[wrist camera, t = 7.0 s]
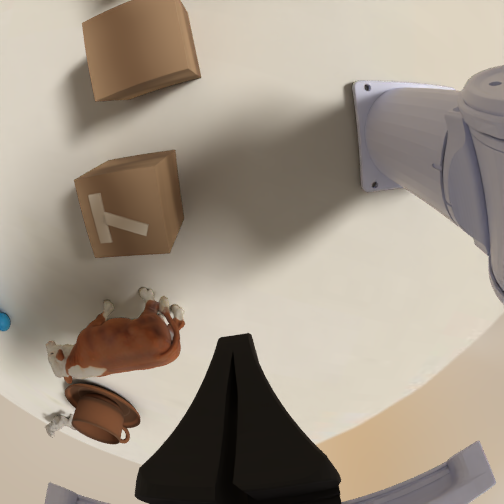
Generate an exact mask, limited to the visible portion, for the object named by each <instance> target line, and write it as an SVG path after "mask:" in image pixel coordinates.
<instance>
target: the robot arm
mask: <svg viewBox="0 0 504 504" xmlns="http://www.w3.org/2000/svg"><path fill="white" fill-rule="evenodd" d="M365 84H366V85H368V87H369V90H368V91H366V90H365V89H364V86H365ZM352 90H353V97H354V105H355V113H356V122H357V132H358V143H359V157H360V174H361V187H362V189H363V190H364V191H366V192H374V191H382V190H389V189H397V188H405V189H407V190H408V191H410V192H411V193H413V194H414V195H416V196H417V197H419V198H420V199H422V200H423V201H424V202H426V203H427V204H429V205H430V206H432V207H433V208H434V209H436V210H437V211H439V212H440V213H441V214H443V215H444V216H445V217H447V218H448V219H449V220H451V221H452V222H453V223H455V224H456V225H457V226H459V227H460V228H461V229H462V230H463V231H465V232H466V233H467V234H468V235H470V236H471V237H473V239H474V242H475V245H476V246H477V247H479V248H480V249H481V250H482V251H483V252H484V253H485V254H487V255H488V256H489V278H490V281H491V285H492V287H493V289H494V291H495V294H496V295H497V297H498V298H499V300H500V301H501V302H502V303H503V304H504V65H502V66H497V67H493V68H489V69H486V70H484V71H481V72H479V73H477V74H475V75H473V76H472V77H471V78H469V79H468V81H467V82H466V84H465V86H464V88H463V90H462V91H457V90H455V89H454V88H452V87H445V86H438V85H430V84H420V83H409V82H394V81H355V82H354V83H353V85H352ZM373 182H376V185H375V186H374V187H372V183H373ZM340 482H341V478H340V475H339V473H338V472H337V470H336V469H335V467H334V466H333V465H332V463H331V462H330V460H329V459H328V458H327V456H326V455H325V454H324V453H323V452H322V451H321V450H320V449H319V448H318V447H317V446H316V445H315V444H314V443H313V442H312V441H311V440H310V439H309V438H308V437H307V435H306V434H305V433H304V432H303V431H302V430H301V429H300V427H299V426H298V425H297V424H296V422H295V421H294V420H293V419H292V418H291V416H290V415H289V414H288V412H287V411H286V409H285V408H284V407H283V405H282V404H281V402H280V401H279V399H278V398H277V396H276V394H275V393H274V391H273V390H272V388H271V386H270V384H269V382H268V381H267V379H266V377H265V375H264V373H263V371H262V368H261V366H260V364H259V361H258V357H257V353H256V350H255V346H254V342H253V339H252V335H251V334H249V333H247V334H240V335H234V336H227V337H221V338H219V339H218V342H217V346H216V349H215V352H214V355H213V358H212V360H211V363H210V366H209V368H208V371H207V373H206V375H205V378H204V380H203V382H202V384H201V386H200V388H199V390H198V393H197V395H196V397H195V398H194V400H193V402H192V404H191V406H190V407H189V409H188V411H187V412H186V414H185V415H184V417H183V418H182V420H181V421H180V423H179V424H178V426H177V427H176V429H175V430H174V431H173V433H172V434H171V435H170V436H169V438H168V439H167V440H166V441H165V442H164V443H163V445H162V446H161V447H160V448H159V449H158V450H157V451H156V453H155V454H154V455H152V456H151V457H150V458H149V459H148V460H147V461H146V462H145V463H144V464H143V465H142V466H141V467H140V468H139V472H138V476H137V480H136V488H135V497H136V498H137V499H139V500H141V501H144V502H146V503H149V504H468V503H470V502H471V501H473V500H474V499H476V498H477V497H479V496H480V495H481V494H483V493H484V492H486V491H487V490H488V489H490V488H491V487H492V486H494V485H495V484H496V481H495V478H494V475H493V473H492V470H491V468H490V465H489V463H488V460H487V458H486V455H485V453H484V451H483V449H482V446H481V444H480V441H476V442H475V443H473V444H471V445H470V446H468V447H467V448H465V449H464V450H462V451H460V452H458V453H457V454H455V455H453V456H452V457H451V458H449V459H448V460H447V461H446V462H444V463H442V464H441V465H439V466H437V467H435V468H433V469H431V470H429V471H427V472H424V473H423V474H420V475H418V476H416V477H414V478H411V479H409V480H407V481H404V482H402V483H399V484H397V485H394V486H392V487H389V488H386V489H384V490H381V491H378V492H375V493H372V494H369V495H366V496H363V497H359V498H356V499H353V500H349V501H345V502H341V499H340V490H339V483H340ZM45 504H109V503H105V502H101V501H98V500H94V499H91V498H87V497H84V496H81V495H78V494H76V493H74V492H73V491H70V490H68V489H66V488H63V487H61V486H58V485H55V484H53V483H49V484H48V489H47V494H46V499H45Z"/></svg>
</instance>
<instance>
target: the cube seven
mask: <svg viewBox="0 0 504 504" xmlns="http://www.w3.org/2000/svg"><path fill="white" fill-rule="evenodd" d="M74 182H75V186H76V191H77V195H78V199H79V204H80V207H81V211H82V215H83V219H84V223H85V226H86V230H87V233H88V236H89V240H90V243H91V246H92V249H93V253H94V256H95V258H101V257H116V256H132V255H149V254H165V253H170V251H171V249H172V246H173V244H174V241H175V239H176V237H177V234H178V232H179V229H180V227H181V225H182V222H183V220H184V214H183V207H182V200H181V193H180V186H179V178H178V170H177V161H176V153H175V150H170V151H162V152H155V153H148V154H142V155H136V156H130V157H124V158H119V159H113V160H108V161H107V162H105V163H103V164H101V165H99V166H97V167H96V168H94V169H92V170H90V171H89V172H87V173H85V174H84V175H82V176H80V177H78V178H77V179H75V180H74Z"/></svg>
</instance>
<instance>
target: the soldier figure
mask: <svg viewBox="0 0 504 504" xmlns="http://www.w3.org/2000/svg"><path fill="white" fill-rule="evenodd" d="M73 416H74V415H73V414H71V415H70V418H69V419H67V418H65V417H64V416H58V415H57V416H55V417H54V418H53V421H52V422H51V423H49V424H48V425H46V426H45V428H46V430H47V433H48V435H49V436H50V437H51V435H53V436H55V435H54V431H57V430H59V429H60V428H61V429H62V427H63V426H68V427H70V428H72V429H73V430H76V429H75V428H74V427H73V426H72V424H71V422H72V419H73Z"/></svg>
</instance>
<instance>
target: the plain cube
mask: <svg viewBox="0 0 504 504" xmlns="http://www.w3.org/2000/svg"><path fill="white" fill-rule="evenodd" d="M82 27H83V35H84V43H85V49H86V56H87V62H88V67H89V73H90V78H91V83H92V88H93V93H94V97H95V102H96V101H111V100H130V99H132V98H135V97H138V96H141V95H143V94H146V93H149V92H152V91H155V90H159V89H162V88H165V87H168V86H172V85H175V84H179V83H182V82H186V81H190V80H194V79H197V78H201V74H200V69H199V64H198V60H197V55H196V50H195V45H194V41H193V36H192V31H191V26H190V21H189V17H188V13H187V11H186V9H185V7H184V6H183V4H182V2H181V1H180V0H131V1H129V2H126V3H124V4H121V5H119V6H117V7H114V8H112V9H110V10H108V11H105V12H103V13H101V14H99V15H97V16H95V17H93V18H91V19H89V20H87V21H85V22H83V23H82Z"/></svg>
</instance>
